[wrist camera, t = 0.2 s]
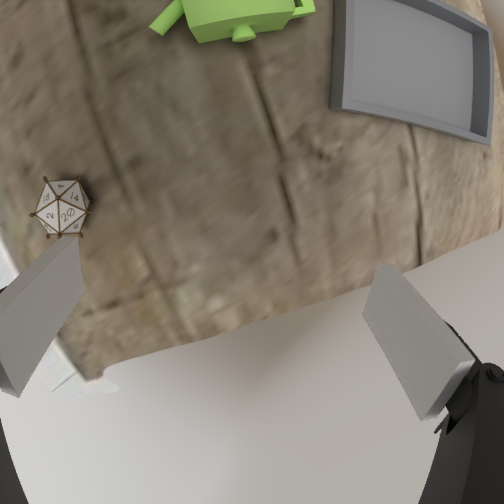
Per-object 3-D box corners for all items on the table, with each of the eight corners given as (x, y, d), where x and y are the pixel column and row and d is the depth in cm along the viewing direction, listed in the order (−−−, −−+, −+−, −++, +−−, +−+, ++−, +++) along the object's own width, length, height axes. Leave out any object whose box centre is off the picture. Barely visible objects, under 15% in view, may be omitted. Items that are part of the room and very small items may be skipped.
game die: (88, 179, 40) (84, 151, 31) (104, 233, 41) (102, 217, 32) (33, 200, 36) (16, 176, 27) (48, 255, 37) (31, 245, 28)
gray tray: (333, -19, 28) (345, -33, 23) (472, 32, 29) (492, 28, 25) (328, 108, 35) (341, 108, 31) (469, 141, 37) (490, 146, 33)
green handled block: (164, 65, 32) (143, 55, 24) (152, 0, 28) (129, -24, 19) (308, 39, 32) (330, 22, 23) (293, -25, 27) (308, -55, 19)
